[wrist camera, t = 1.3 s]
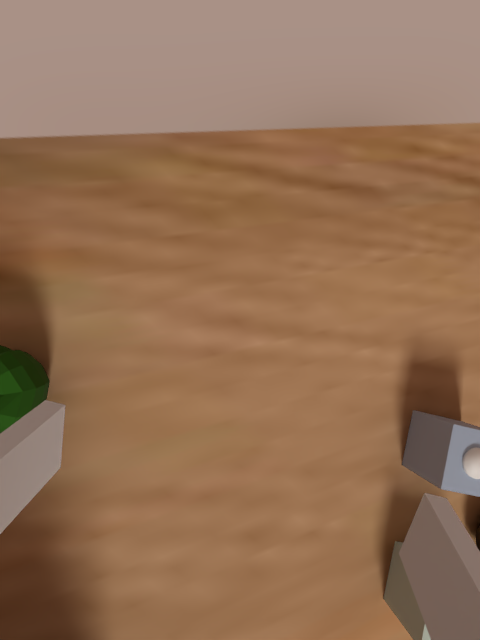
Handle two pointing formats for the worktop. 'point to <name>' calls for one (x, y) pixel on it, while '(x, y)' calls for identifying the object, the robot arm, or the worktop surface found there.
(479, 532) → the potato
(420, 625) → the sage block
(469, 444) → the slate blue block
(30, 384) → the bell pepper
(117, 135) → the worktop surface
